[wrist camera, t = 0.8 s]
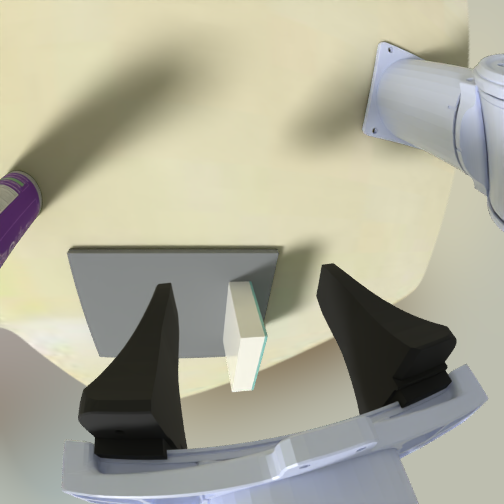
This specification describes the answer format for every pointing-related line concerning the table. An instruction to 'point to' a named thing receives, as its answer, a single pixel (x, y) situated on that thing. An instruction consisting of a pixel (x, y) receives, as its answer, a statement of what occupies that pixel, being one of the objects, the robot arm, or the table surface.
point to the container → (16, 209)
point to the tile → (243, 336)
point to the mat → (183, 284)
